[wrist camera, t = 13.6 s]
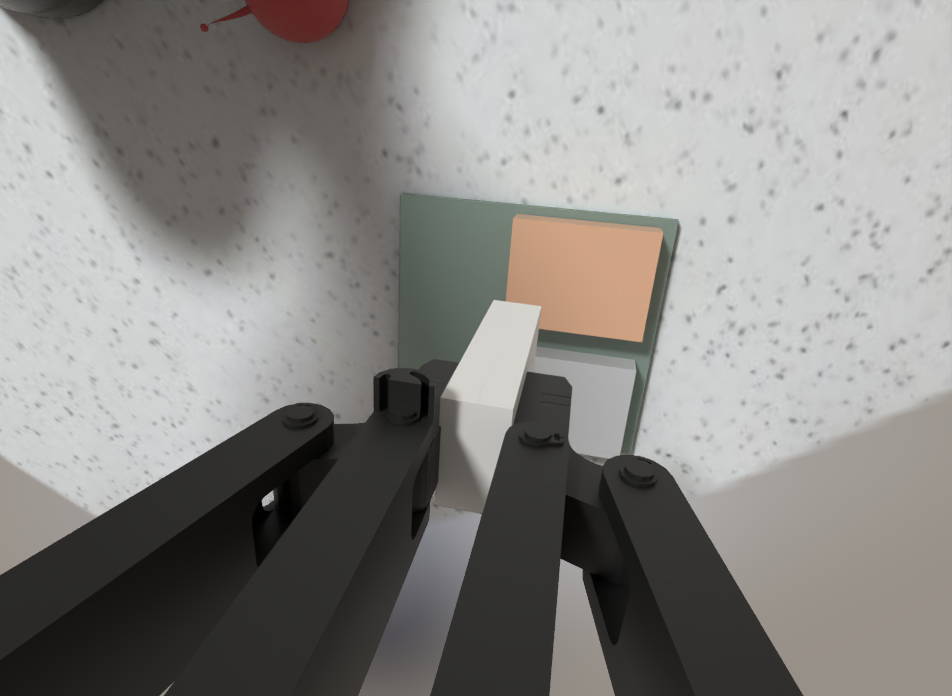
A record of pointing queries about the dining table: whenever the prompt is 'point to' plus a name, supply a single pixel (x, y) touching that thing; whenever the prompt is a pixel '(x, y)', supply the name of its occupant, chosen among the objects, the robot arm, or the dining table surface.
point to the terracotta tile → (584, 274)
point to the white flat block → (593, 397)
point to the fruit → (294, 17)
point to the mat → (495, 282)
